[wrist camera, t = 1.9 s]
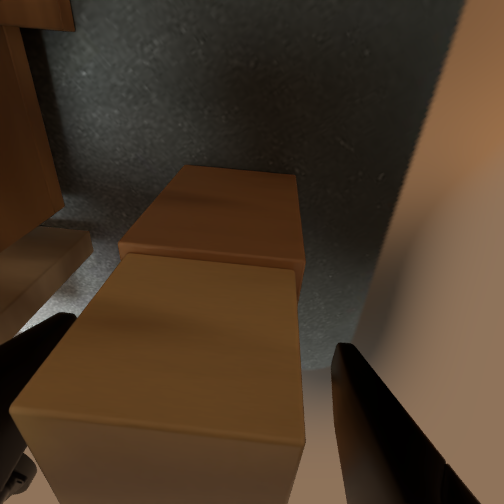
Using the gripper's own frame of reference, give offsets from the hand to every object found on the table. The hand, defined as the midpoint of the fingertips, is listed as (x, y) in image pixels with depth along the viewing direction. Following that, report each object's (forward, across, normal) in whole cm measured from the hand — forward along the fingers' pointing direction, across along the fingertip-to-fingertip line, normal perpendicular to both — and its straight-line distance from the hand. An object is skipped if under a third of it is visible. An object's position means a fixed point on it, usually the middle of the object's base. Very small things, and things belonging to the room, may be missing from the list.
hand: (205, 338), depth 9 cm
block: (+1, 0, 0) cm, 1 cm away
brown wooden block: (+8, 0, 0) cm, 8 cm away
